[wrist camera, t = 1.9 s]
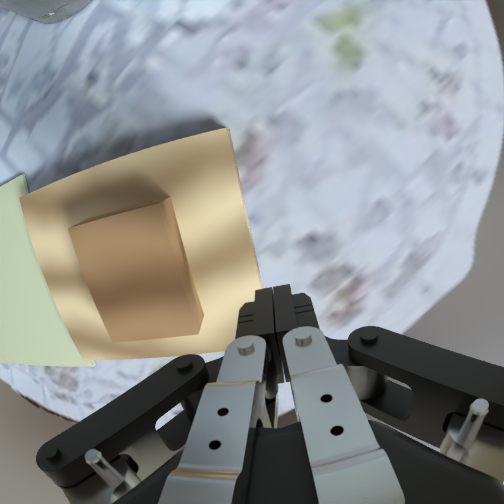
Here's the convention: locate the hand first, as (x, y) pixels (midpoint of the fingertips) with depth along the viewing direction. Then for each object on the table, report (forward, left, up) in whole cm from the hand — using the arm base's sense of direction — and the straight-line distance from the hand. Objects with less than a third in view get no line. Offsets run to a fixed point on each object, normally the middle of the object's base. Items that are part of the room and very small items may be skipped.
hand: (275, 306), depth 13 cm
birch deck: (0, -10, -10) cm, 14 cm away
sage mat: (0, -29, -10) cm, 31 cm away
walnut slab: (0, -9, -8) cm, 12 cm away
